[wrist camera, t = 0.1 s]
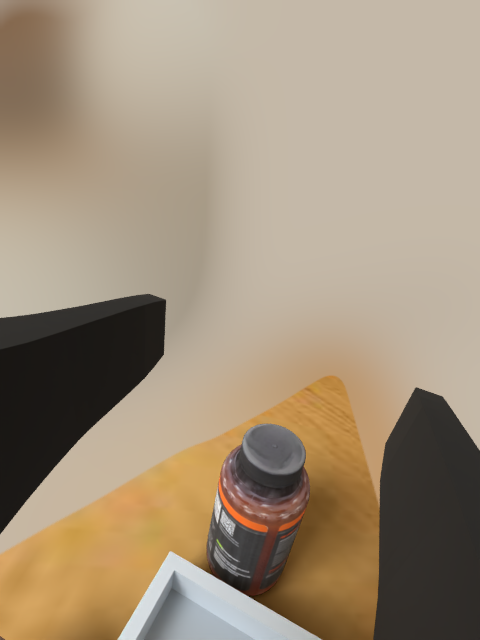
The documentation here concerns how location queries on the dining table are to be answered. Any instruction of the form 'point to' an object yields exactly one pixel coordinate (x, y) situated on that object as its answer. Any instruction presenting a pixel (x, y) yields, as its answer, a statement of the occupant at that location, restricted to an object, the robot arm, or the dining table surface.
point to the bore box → (203, 610)
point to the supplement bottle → (258, 509)
